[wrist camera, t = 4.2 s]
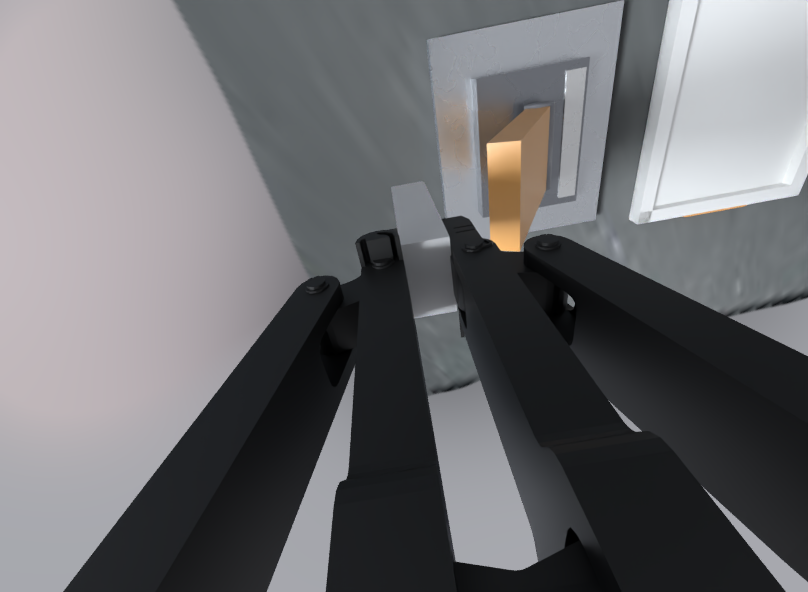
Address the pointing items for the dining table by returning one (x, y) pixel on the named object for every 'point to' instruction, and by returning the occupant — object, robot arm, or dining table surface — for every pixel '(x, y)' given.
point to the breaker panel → (518, 86)
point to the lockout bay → (725, 109)
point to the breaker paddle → (519, 173)
